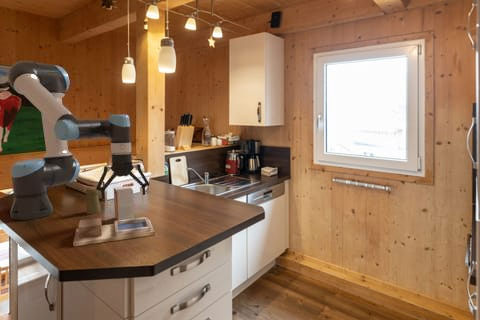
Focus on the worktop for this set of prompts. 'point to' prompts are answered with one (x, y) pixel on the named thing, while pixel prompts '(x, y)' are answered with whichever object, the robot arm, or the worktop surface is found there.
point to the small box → (123, 203)
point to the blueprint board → (111, 230)
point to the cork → (92, 201)
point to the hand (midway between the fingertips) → (124, 204)
